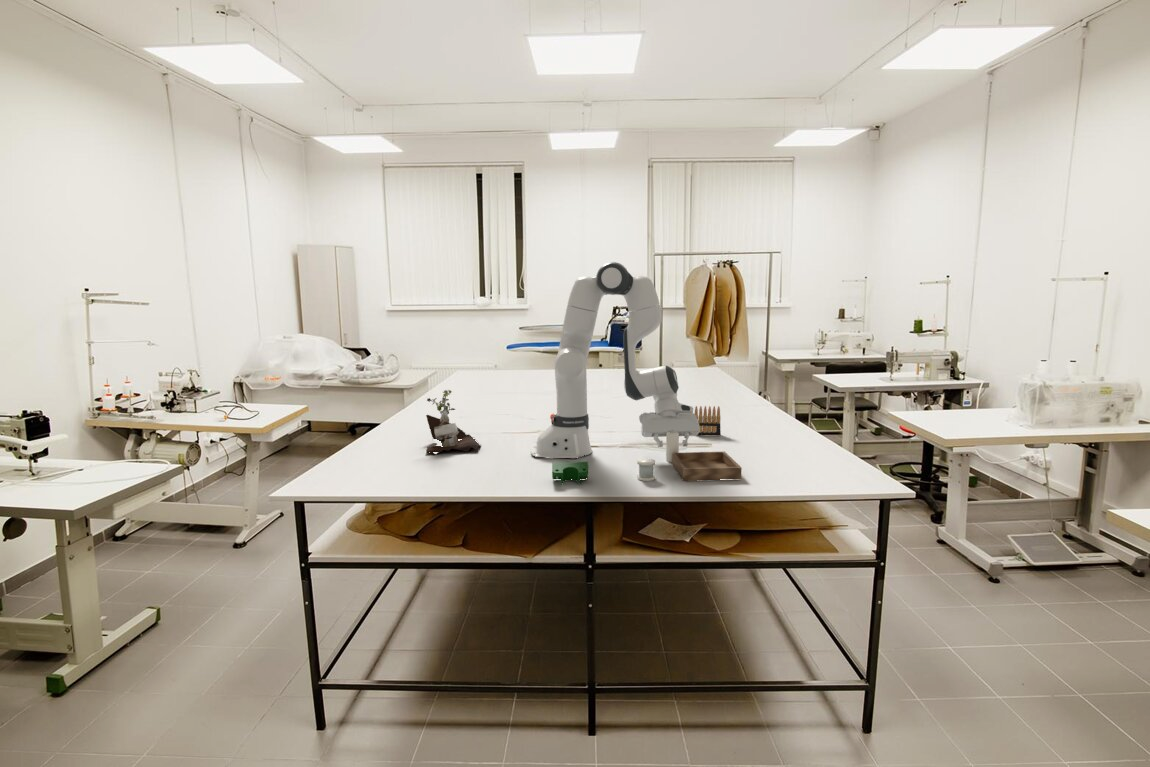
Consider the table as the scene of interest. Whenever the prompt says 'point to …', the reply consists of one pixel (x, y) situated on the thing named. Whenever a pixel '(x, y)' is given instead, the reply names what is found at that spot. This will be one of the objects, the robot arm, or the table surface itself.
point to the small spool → (646, 469)
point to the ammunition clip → (709, 421)
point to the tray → (705, 466)
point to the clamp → (570, 471)
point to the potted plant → (448, 430)
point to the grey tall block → (672, 444)
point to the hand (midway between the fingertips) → (672, 446)
